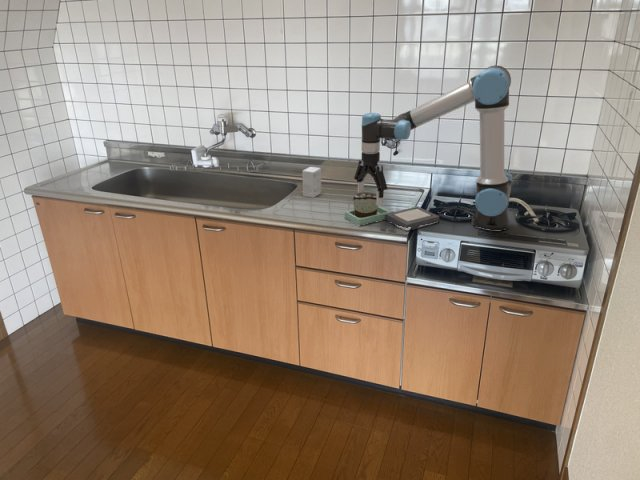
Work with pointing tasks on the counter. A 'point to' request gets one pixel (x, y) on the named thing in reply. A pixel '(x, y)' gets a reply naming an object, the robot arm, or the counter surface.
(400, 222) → the base
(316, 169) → the small box
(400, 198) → the counter surface
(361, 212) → the food container
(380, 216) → the trough tray
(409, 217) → the checker plate
